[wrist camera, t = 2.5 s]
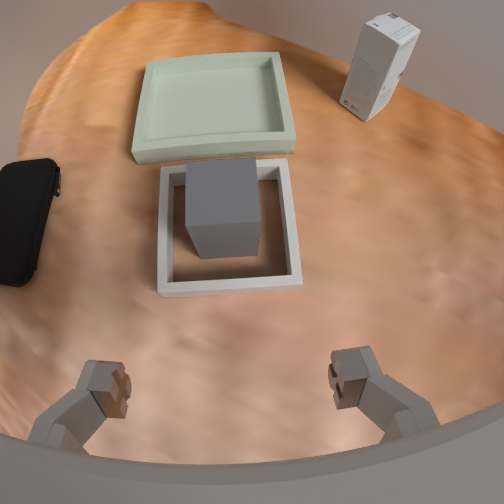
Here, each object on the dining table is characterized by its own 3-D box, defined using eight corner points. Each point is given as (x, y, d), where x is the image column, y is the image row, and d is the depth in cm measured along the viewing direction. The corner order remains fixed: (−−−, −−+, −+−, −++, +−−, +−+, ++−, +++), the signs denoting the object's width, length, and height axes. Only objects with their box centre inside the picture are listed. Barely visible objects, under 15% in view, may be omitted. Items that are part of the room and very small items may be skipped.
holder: (164, 297, 28) (157, 292, 25) (166, 179, 31) (161, 167, 29) (297, 289, 28) (302, 283, 26) (284, 172, 31) (287, 158, 29)
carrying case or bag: (45, 293, 28) (75, 164, 32) (29, 286, 25) (63, 150, 29) (-18, 282, 28) (11, 169, 32) (-34, 276, 25) (-1, 158, 29)
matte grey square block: (200, 259, 29) (185, 226, 21) (199, 207, 30) (186, 162, 23) (257, 255, 29) (261, 221, 21) (253, 204, 30) (255, 157, 23)
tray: (138, 164, 31) (131, 151, 29) (151, 75, 36) (147, 62, 33) (293, 153, 32) (296, 139, 30) (277, 66, 36) (278, 51, 34)
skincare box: (366, 124, 34) (402, 47, 22) (336, 102, 35) (361, 22, 23) (390, 101, 35) (425, 31, 23) (361, 81, 36) (388, 9, 24)
